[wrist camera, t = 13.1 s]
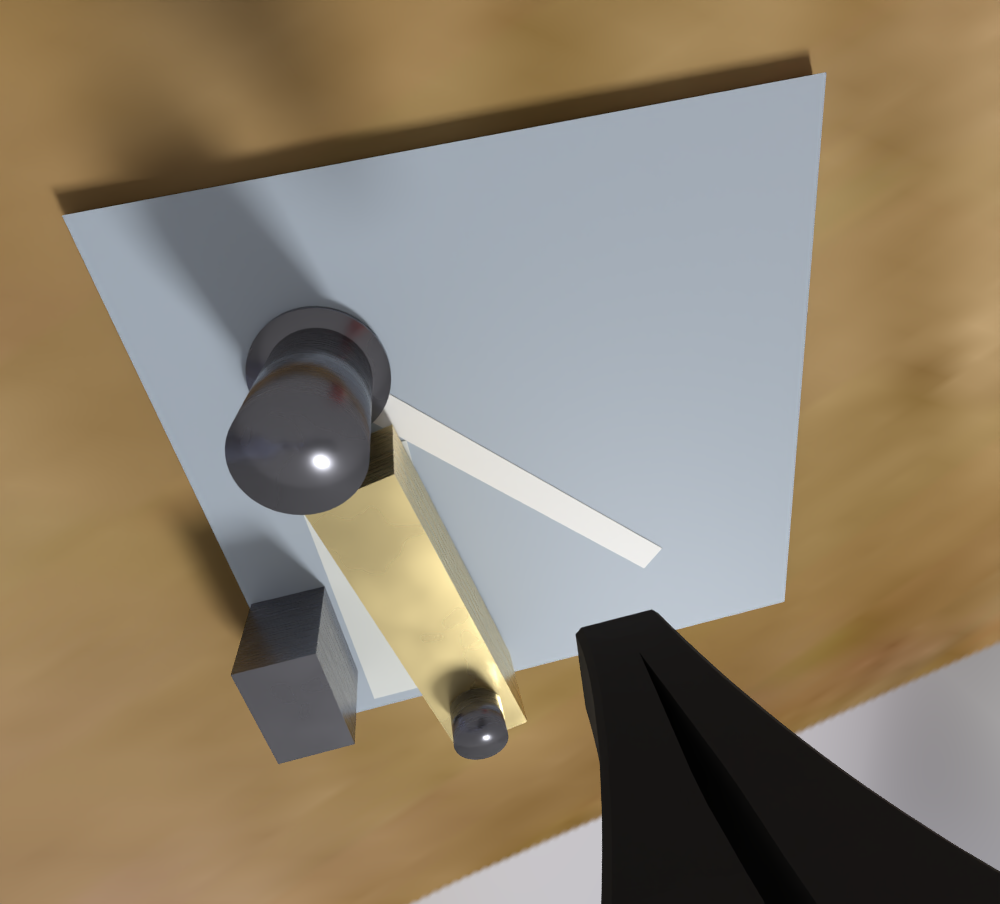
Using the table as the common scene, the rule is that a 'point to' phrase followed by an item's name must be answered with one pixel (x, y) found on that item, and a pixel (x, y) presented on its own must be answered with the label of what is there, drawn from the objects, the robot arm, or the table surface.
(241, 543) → the door panel
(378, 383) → the door knob
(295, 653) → the block
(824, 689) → the table surface
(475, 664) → the swing bar
